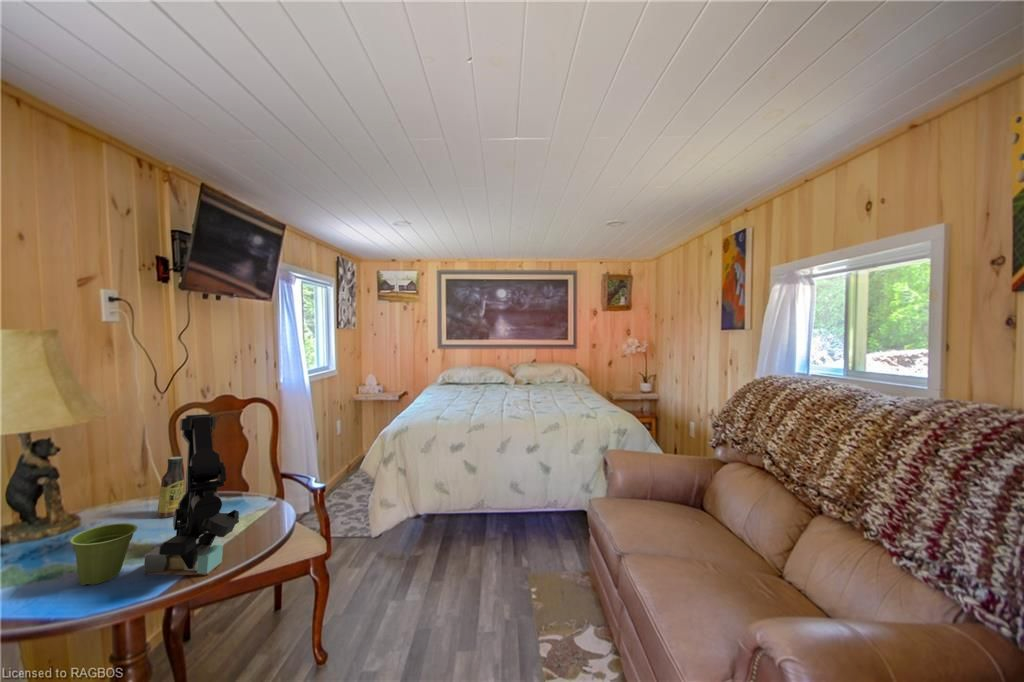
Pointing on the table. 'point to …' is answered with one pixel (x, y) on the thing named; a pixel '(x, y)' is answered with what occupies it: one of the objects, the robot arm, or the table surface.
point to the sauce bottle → (171, 488)
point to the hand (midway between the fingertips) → (196, 564)
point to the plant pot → (101, 551)
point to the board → (177, 572)
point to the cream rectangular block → (178, 562)
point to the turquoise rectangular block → (210, 559)
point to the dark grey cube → (155, 561)
